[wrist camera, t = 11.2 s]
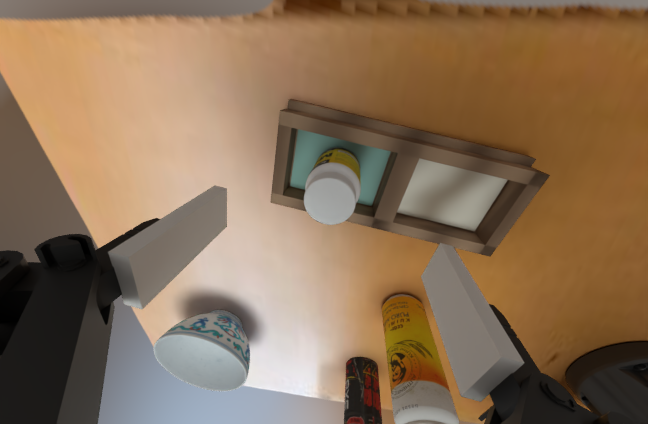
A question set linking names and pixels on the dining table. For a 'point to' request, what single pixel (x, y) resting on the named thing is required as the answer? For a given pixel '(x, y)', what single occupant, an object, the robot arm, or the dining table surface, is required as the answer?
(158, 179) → the dining table surface
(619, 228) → the dining table surface
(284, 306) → the dining table surface
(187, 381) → the chinaware
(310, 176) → the supplement bottle
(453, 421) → the yellow canister
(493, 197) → the divided tray
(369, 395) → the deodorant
